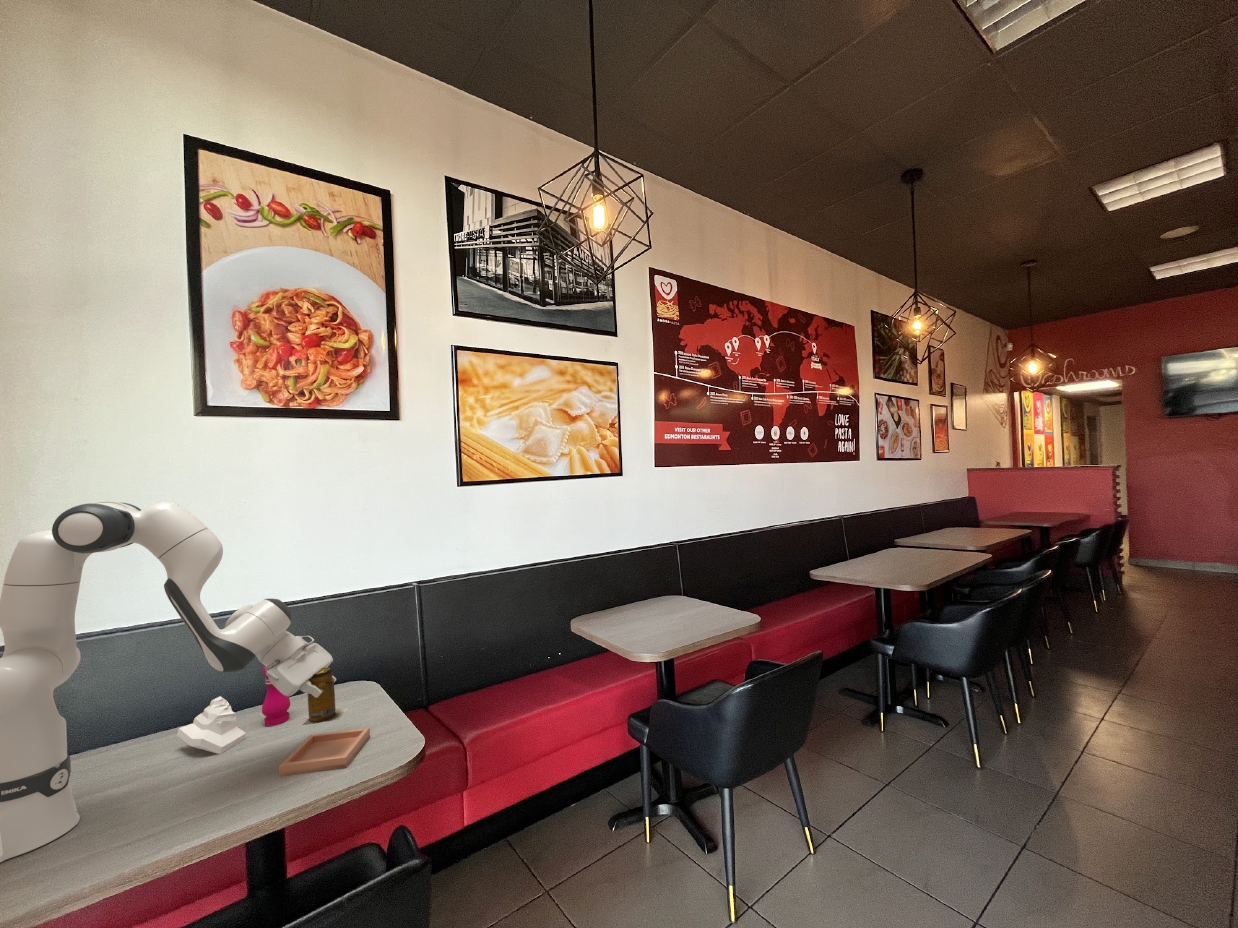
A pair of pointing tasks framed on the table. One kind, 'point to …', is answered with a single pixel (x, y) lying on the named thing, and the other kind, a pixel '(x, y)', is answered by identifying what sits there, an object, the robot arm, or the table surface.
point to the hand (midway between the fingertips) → (327, 688)
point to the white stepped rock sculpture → (213, 728)
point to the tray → (325, 752)
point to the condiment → (323, 699)
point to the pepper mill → (274, 704)
